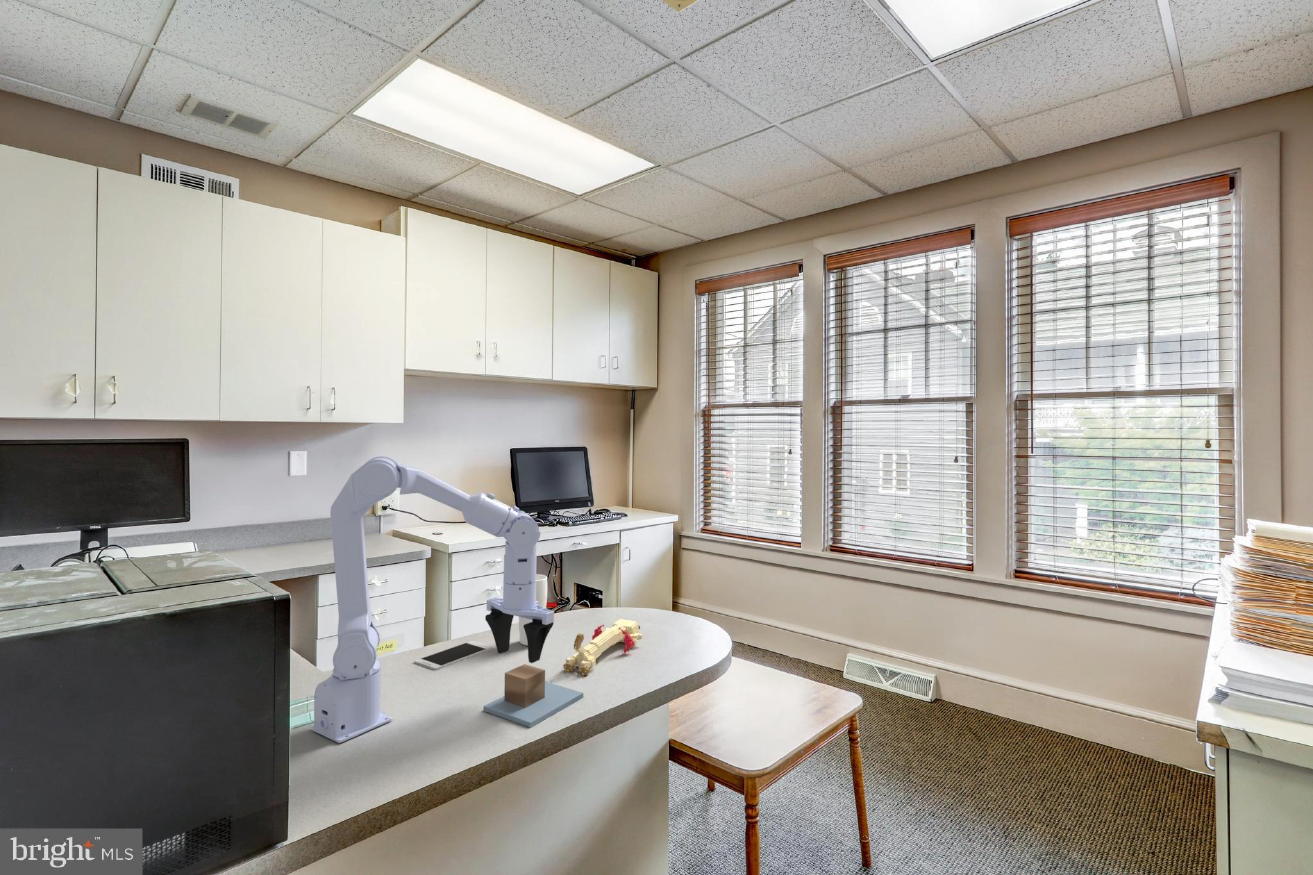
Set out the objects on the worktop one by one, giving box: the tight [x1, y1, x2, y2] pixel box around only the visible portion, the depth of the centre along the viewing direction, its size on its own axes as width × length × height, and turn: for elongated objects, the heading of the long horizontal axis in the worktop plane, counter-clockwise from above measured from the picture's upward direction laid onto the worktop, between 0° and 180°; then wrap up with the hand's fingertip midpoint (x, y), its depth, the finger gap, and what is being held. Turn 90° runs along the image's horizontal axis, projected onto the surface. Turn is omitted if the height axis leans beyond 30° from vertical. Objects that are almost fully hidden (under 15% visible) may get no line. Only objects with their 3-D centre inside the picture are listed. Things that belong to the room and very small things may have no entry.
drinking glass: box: [518, 573, 548, 647], centre depth 145 cm, size 7×7×15 cm
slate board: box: [482, 680, 584, 728], centre depth 114 cm, size 14×11×1 cm
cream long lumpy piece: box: [562, 618, 644, 676], centre depth 139 cm, size 10×9×25 cm
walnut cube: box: [503, 663, 546, 708], centre depth 114 cm, size 5×5×5 cm
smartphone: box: [413, 640, 494, 671], centre depth 137 cm, size 7×15×1 cm, turn 147°
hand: (518, 656), depth 114 cm, fingers open, 7 cm apart
